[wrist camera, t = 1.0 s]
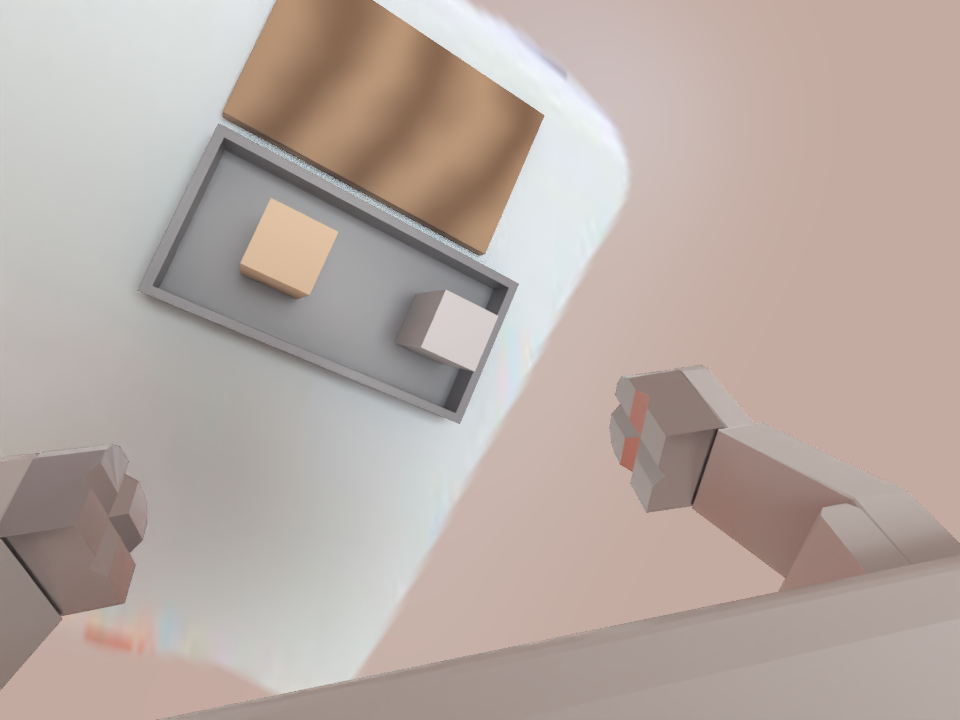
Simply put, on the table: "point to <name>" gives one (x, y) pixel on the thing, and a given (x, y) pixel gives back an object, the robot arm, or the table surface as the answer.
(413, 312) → the plain box
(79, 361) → the table surface
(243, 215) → the bin
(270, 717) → the robot arm
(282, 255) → the labelled box
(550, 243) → the table surface
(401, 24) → the pad
